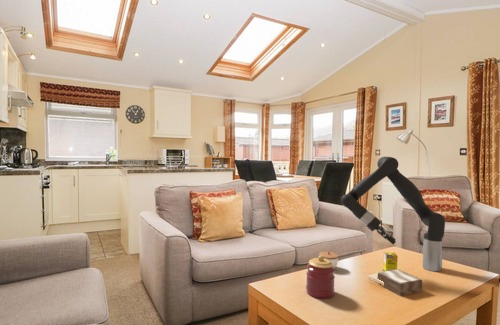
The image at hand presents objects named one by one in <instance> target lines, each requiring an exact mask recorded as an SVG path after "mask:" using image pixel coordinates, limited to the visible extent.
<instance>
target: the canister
mask: <svg viewBox="0 0 500 325" xmlns="http://www.w3.org/2000/svg"><path fill="white" fill-rule="evenodd" d="M335 268H336V267H335ZM335 268H334V267H333V263H332V262H331V261H330V260H328V259H326V258H324V257H323V256H321V255H320V256H319V255H318V257H314V258H311V259H310V260H308V264H307V265H306V269H307V271H306V285H305V289H306V293H307V294H308V295H309V296H311V297H313V298H316V299H324V300H325V299H330V298H332V297H333V296H334V295H335V278H336V276H335V274H334V273H335V271H336V269H335Z"/></svg>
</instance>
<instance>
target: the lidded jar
mask: <svg viewBox="0 0 500 325" xmlns="http://www.w3.org/2000/svg"><path fill="white" fill-rule="evenodd" d="M320 255H321V256H323V257H324V258H326V259H328V260H330V261H331V262H332V263H333V267H334V268H336V267H337V265H338V262H339V255H338V254H337V253H336V252H332V251H320V252H319V254H318V257H319V256H320Z"/></svg>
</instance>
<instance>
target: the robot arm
mask: <svg viewBox="0 0 500 325" xmlns="http://www.w3.org/2000/svg"><path fill="white" fill-rule="evenodd" d="M398 167H399V161H398V160H397V158H395V157H391V156H382V157H380V158H379V159H378V161H377V169H376V170H375V171H373V172H372V173H371V174H368V176H366V177H364V178H363V179H361V180H360V181H359V182H358V183H356V184H355V185H354V186H353V187H352V189H351V190H350V191H349V192H347V194H344V195H342V196H341V198H340V201H341V205H342V206H343V207H345V208H347V209H348V210H349V211H350V212H352V213H351V214H353V215H354V216H355V217H356V218H357V219H358V220H360V222H361V223H362V224H363V225H364V226H365V227H367V229H369V230H370V231H371V232H374V231H375V230H376V232H377V233H378V234H379V235H380V236H381V237H382V238H383V239H385V240H387V241H388V242H389V243H390V244H392V245H395V243H397V242H396V238H395V237H394V236H392V235H391V233H390V232H389V231H388V230H387V229H386V228H385V227H383V226H382V225H381V224H382V220H380V219H379V218H378V217H376V216H375V215H374V214H373V213H372V212H371V211H369V210H368V209H366V208H365V207H364V206H363V205H362V204H360V202H359V199H360V198H361V197H363V196H364V195H366V194H367V193H368V192H369V191H370V190H371V189H372V188H373V187H374V186H375V185H377V184H378V183H380V181H382V180H384V179H385V178H386V177H387V178H388V180H389V181H390V182H391V184H393V186H394V187H395V188H396V190H397V191H398V192H399V194H400V195H401V196H402V198H403V199H404V200H405V201H406V202H407V203H408V205H409V206H410V207H411V208H412V209H413V210H414V211H415V213H416V214H417V216H418V217H419V219H420V220H421V222H422V223H423V224H424V225H425V226H426V227H427V232H424V234H423V242H422V244H423V247H422V268H423V269H425V270H427V271H431V272H441V270H443V253H442V252H443V251H442V250H443V249H442V248H443V237H444V236H445V228H446V219H445V217H444V215H443V214H441V213H438V212H435V211H433V210H432V209H431V208H430V206H428V205H427V204H426V202H425V201H424V198H423V194H422V192H421V191H420V189H419V188H418V187H417V186H416V185H415V183H413V181H411V180H410V179H409V178H407V177H406V176H404V175H403V173H401V172H400V170H399V169H398Z"/></svg>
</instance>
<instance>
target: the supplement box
mask: <svg viewBox="0 0 500 325" xmlns="http://www.w3.org/2000/svg"><path fill="white" fill-rule="evenodd" d="M398 259H399V256H398V255H397V253H396V252H394V251H383V267H382V272H384V271H391V270H397V269H398Z"/></svg>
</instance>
